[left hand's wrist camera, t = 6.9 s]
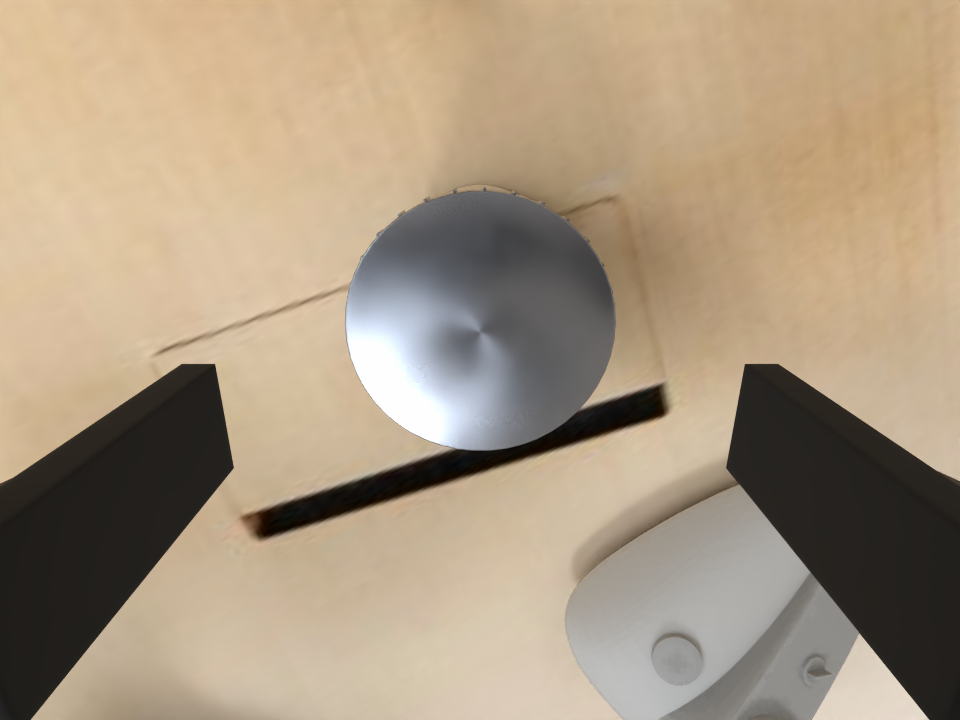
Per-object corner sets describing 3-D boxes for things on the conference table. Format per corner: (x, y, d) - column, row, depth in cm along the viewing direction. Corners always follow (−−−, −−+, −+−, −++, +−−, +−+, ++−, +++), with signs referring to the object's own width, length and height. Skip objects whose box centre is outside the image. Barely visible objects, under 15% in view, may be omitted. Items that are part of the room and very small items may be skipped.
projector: (822, 678, 46) (970, 900, 32) (551, 679, 46) (582, 901, 32) (889, 447, 38) (1122, 608, 24) (564, 448, 38) (612, 610, 24)
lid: (607, 424, 22) (616, 443, 21) (372, 440, 22) (364, 460, 21) (609, 176, 19) (620, 177, 17) (332, 198, 19) (320, 201, 18)
